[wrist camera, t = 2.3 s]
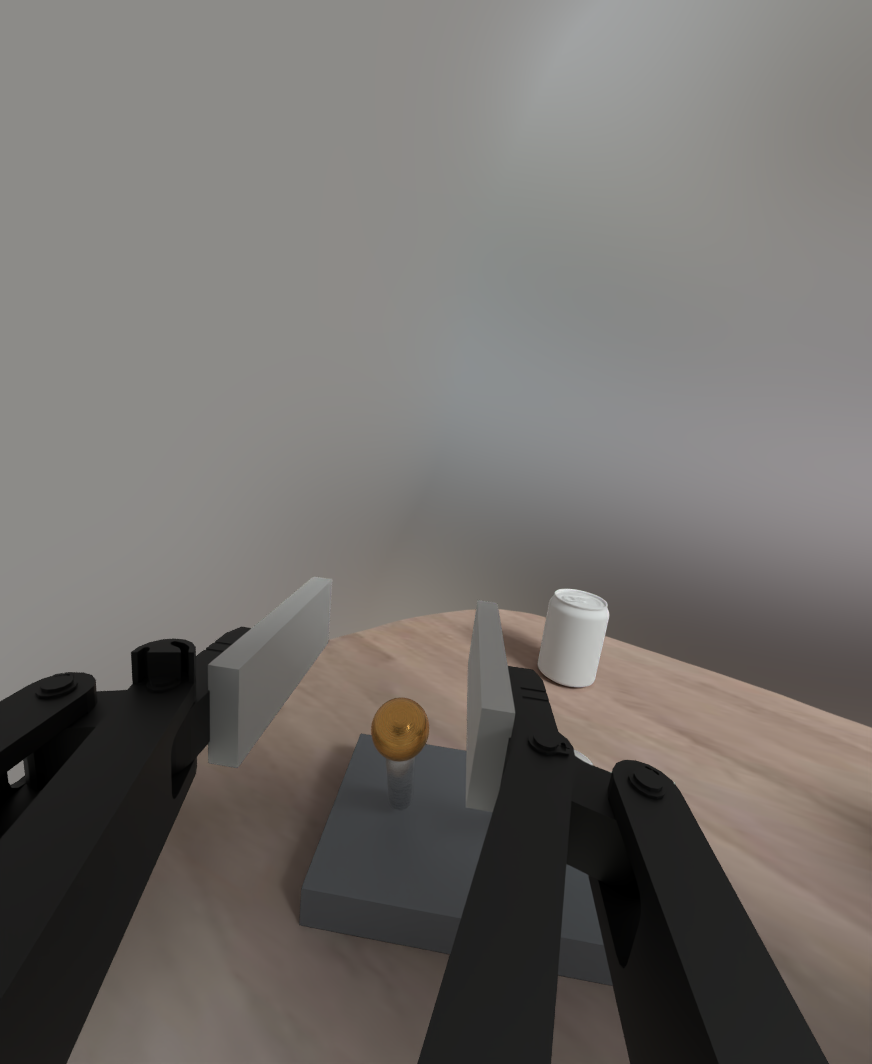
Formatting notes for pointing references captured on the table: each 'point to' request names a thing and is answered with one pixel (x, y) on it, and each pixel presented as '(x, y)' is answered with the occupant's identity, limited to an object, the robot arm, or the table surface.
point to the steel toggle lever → (400, 745)
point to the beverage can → (573, 637)
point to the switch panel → (421, 864)
